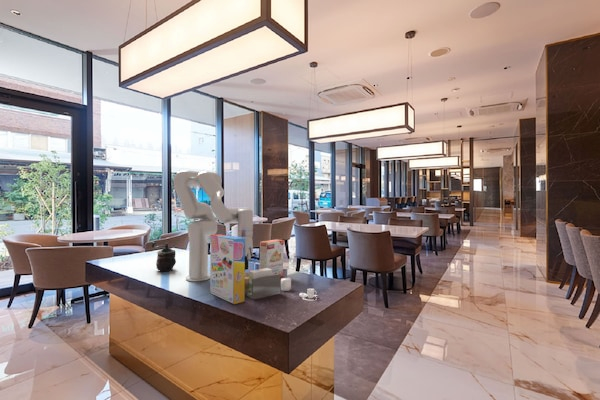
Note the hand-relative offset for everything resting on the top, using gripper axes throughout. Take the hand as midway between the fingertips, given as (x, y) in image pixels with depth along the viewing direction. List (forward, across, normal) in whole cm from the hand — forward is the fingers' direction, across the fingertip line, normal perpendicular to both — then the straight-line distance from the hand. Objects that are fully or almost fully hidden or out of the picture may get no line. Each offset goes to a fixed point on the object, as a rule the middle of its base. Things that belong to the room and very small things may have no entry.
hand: (244, 269), depth 150 cm
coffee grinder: (+8, -54, -26) cm, 61 cm away
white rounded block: (+8, +18, +13) cm, 24 cm away
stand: (+8, +12, 0) cm, 14 cm away
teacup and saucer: (+9, +32, +16) cm, 37 cm away
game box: (+8, +13, -15) cm, 21 cm away
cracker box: (+8, -3, +18) cm, 20 cm away
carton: (+2, +14, 0) cm, 14 cm away
